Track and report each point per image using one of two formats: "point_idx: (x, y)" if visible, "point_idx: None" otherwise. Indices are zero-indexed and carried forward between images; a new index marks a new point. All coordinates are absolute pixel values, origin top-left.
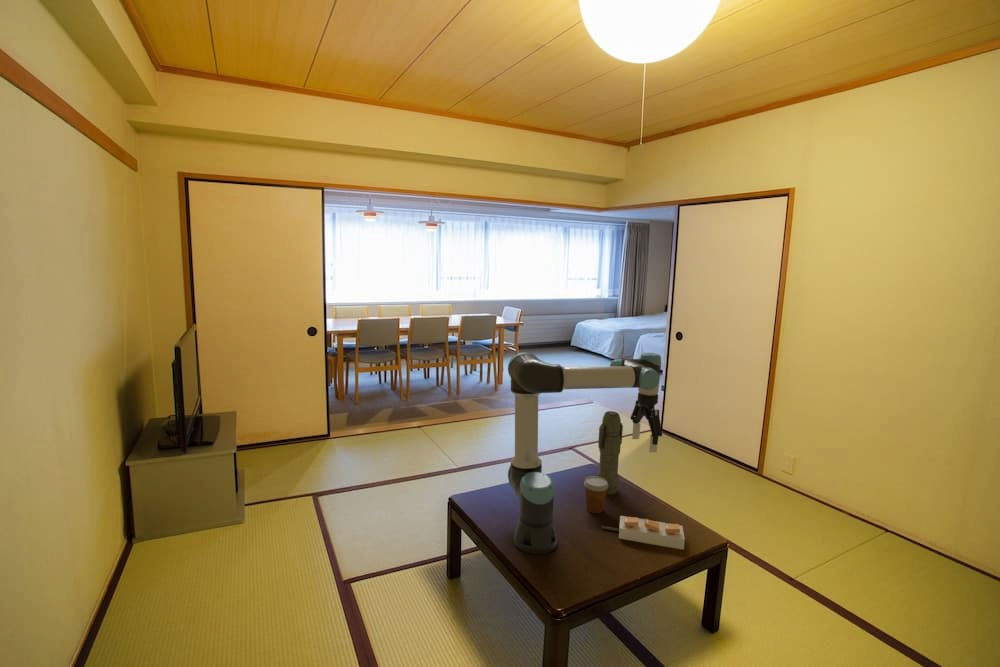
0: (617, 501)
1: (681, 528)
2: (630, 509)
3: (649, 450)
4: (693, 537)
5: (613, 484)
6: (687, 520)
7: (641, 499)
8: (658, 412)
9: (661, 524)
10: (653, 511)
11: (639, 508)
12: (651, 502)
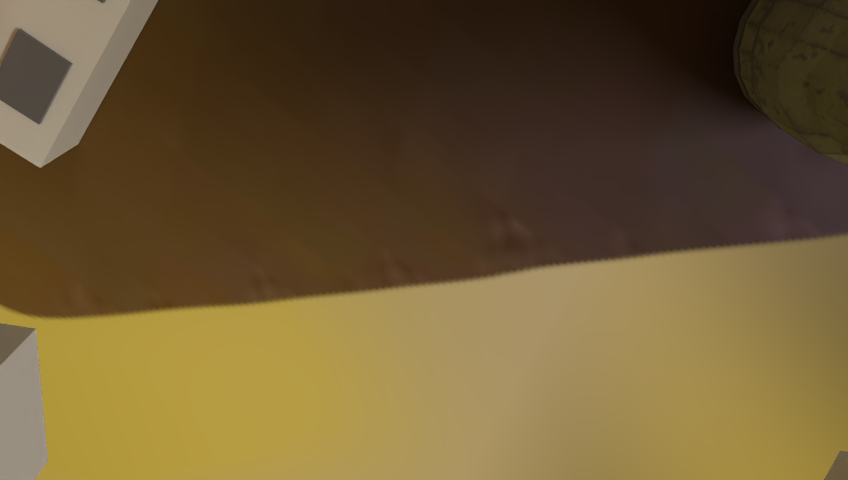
0: (623, 4)
1: (3, 135)
2: (477, 28)
3: (11, 348)
4: (52, 202)
5: (771, 54)
6: (237, 301)
7: (568, 204)
8: None
9: (71, 27)
10: (395, 175)
11: (465, 106)
12: (504, 242)
